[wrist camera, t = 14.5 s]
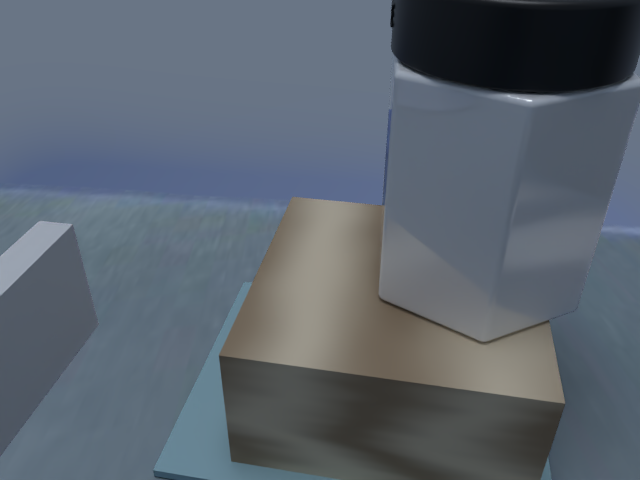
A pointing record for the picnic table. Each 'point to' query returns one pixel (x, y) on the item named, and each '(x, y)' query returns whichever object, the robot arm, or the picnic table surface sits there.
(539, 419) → the base block
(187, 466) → the build board
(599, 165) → the jar
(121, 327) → the picnic table surface
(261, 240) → the picnic table surface
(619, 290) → the picnic table surface
